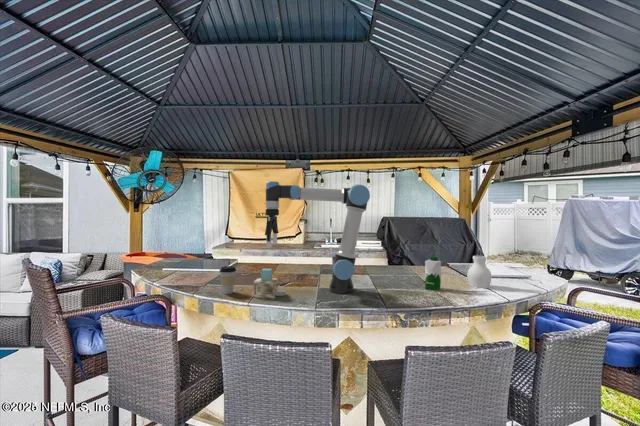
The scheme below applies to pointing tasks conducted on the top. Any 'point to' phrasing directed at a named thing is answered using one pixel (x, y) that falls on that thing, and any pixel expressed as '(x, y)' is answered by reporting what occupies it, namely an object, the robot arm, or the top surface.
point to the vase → (479, 273)
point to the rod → (271, 292)
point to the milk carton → (432, 274)
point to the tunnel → (266, 287)
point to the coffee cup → (227, 279)
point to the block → (266, 274)
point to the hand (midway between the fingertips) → (271, 245)
